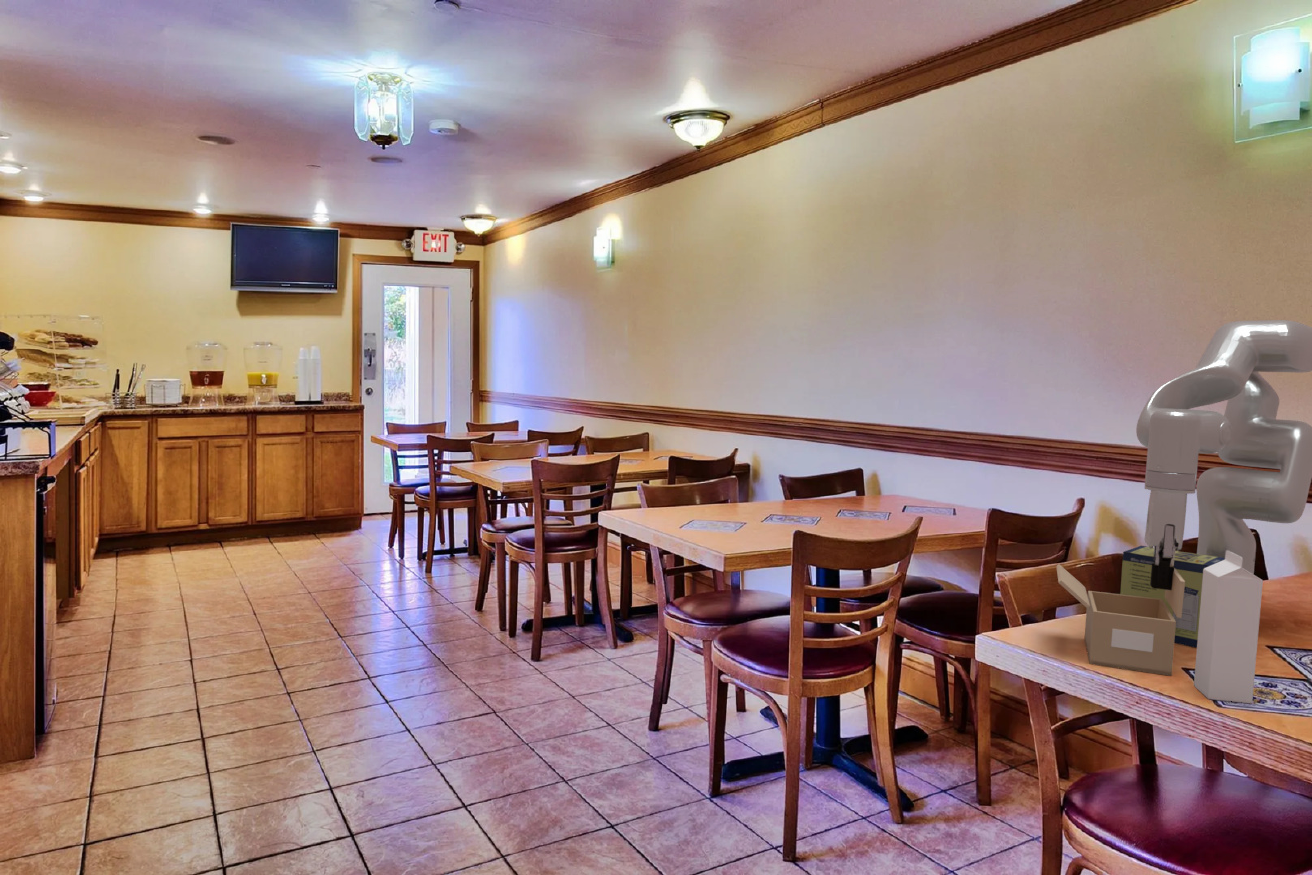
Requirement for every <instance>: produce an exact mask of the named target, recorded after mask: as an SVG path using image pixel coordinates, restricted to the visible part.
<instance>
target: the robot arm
mask: <svg viewBox="0 0 1312 875" xmlns="http://www.w3.org/2000/svg"><path fill="white" fill-rule="evenodd" d="M1311 372H1312V326H1309V325H1308V324H1304V323H1301V322H1297V321H1295V320H1286V319H1285V320H1284V319H1283V320H1282V319H1274V320H1273V319H1269V320H1236V321H1231V322H1227V323H1225V324H1223V325H1222V326H1220V327H1218V329H1216V331H1215V332H1214V334H1213V335H1212V338H1211V339H1210V341H1209V342H1208V345H1207V346H1206V348H1205V349H1204V353H1203V354H1202V355H1201V357H1200V359H1199V361H1198V363H1197V364H1196V367H1195V368H1194V369H1192V370H1191V369H1190V370H1189V371H1187V372H1185V373H1183V374H1180V375H1179V376H1176V377H1174V378H1172V379H1171V380H1169V381H1167V382H1165V383H1164V384H1162V385H1161V386H1159V387H1158V388H1156V390H1154V392H1152V393H1151V395H1150V396H1149V398H1148V400H1147V401H1146V403H1145V405H1144V406H1143V409H1142V410H1141V412H1140V415H1139V417H1138V419H1137V423H1136V437H1137V440H1138V441H1139V442H1140V444H1141V445H1142V446H1144V447H1145V448H1147V454H1146V465H1145V469H1146V470H1145V475H1144V476H1145V478H1144V490H1148V491H1150V492H1149V500H1148V507H1147V514H1146V525H1145V533H1144V541H1145V544H1146V545H1147V547H1150V548H1154V557H1153V563H1152V569H1151V581H1150V585H1151V587H1152V588H1156V589H1164V590H1172V580H1173V571H1174V558H1175V551H1179V552H1180V551H1181V550H1182V548H1183V543H1184V534H1185V524H1186V514H1187V503H1188V501H1187V500H1188V494H1189V495H1191V494H1195V493H1196V499H1197V507H1198V509H1197V510H1198V535H1197V536H1198V538H1197V549H1196V554H1200V555H1207V556H1214V557H1221V558H1225V555H1226V550H1228V551H1230V552H1232V553H1234V554H1236V555H1238V556H1240V557H1242V559H1243V561H1242V568H1244V569H1245V570H1247V571H1248V572H1250V573H1252V574H1253V575H1255V574H1254V573H1255V563H1256V562H1255V561H1256V552H1257V542H1256V538H1255V536H1254V533H1253V532H1252V530H1251V529H1250V528H1249V526H1248V524H1246V522H1245V521H1244V520H1252V521H1253V520H1254V521H1260V522H1261V521H1262V522H1267V523H1268V522H1269V523H1277V524H1293V523H1295V522H1297V521H1299V520H1300V519H1301V518H1302V516H1303V513H1304V511H1305V509H1306V505H1307V500H1308V496H1309V492H1310V487H1311V483H1312V425H1310V424H1309V423H1307V422H1304V421H1300V420H1291V419H1277V416H1278V409H1279V406H1280V398H1279V395H1278V393H1277V391H1276V390H1275V389H1274V388H1273V386H1272V385H1271V384H1270V383H1269V381H1267V380H1266V378H1264V377H1263V376H1262V375H1261V374H1260V373H1294V374H1295V373H1300V374H1301V373H1311ZM1224 401H1227V403H1226V406H1225V410H1224V415H1223V414H1222V413H1219V412H1217V411H1214V410H1205V409H1204V410H1200V409H1194V408H1199V407H1204V406H1209V405H1214V404H1218V403H1221V402H1224ZM1216 453H1217V454H1218V457H1219V458H1220V459H1221V460H1222V461H1223V462H1225V463H1228V464H1230V465H1231V464H1232V465H1236V466H1244V467H1250V468H1251V467H1252V468H1253V467H1254V468H1265V469H1275V470H1280V471H1269V470H1259V469H1257V470H1256V469H1250V468H1241V467H1240V468H1239V467H1228V466H1219V467H1212V468H1208V469H1207V470H1205V471H1203V472H1202V473H1201V474H1200V476H1199V477H1198V479H1197V475H1198V474H1197V473H1198V465H1199V464H1198V463H1199V455H1200V454H1204V455H1205V454H1207V455H1209V454H1216Z"/></svg>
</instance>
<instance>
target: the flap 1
mask: <svg viewBox="0 0 1312 875" xmlns="http://www.w3.org/2000/svg"><path fill="white" fill-rule="evenodd" d="M1055 566H1056V572H1057V573H1056V574H1057V579H1058V580H1057V582H1058V584H1059V585H1060V586H1061V587H1062V588H1064V589H1065V590H1066V591H1067V592H1068V593H1069V594H1071V596H1073V597H1074V598H1075V599H1076V600H1077V601H1078V602H1079V603H1080V604H1082V606H1084V607H1085V608H1086V609H1087V608H1088V607H1089V606H1090V604H1089V600H1088V592H1087V589H1086V586H1084V585H1083V584H1082V583H1081V582H1080V581H1079V580H1078V579H1076V578H1075V577H1074V576H1073V575H1072V574H1071V573H1070V572H1068V571H1067V569H1065V567H1063V566H1062V565H1061V564H1060V563H1058V564H1057V565H1055Z"/></svg>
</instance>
